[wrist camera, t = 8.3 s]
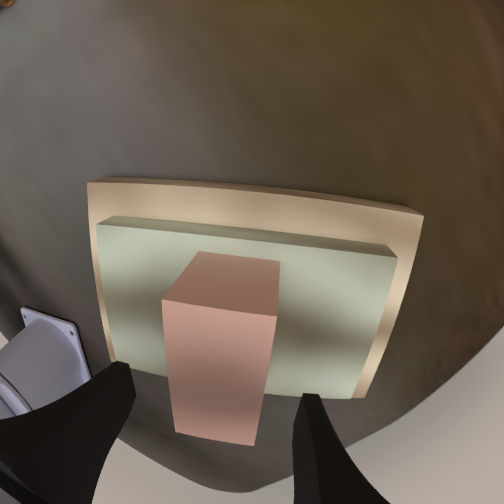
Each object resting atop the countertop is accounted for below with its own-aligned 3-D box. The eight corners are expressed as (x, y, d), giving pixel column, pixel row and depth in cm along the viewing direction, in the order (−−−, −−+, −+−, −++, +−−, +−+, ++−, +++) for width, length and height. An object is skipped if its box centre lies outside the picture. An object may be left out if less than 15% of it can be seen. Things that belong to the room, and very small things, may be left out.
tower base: (358, 376, 22) (368, 416, 18) (123, 343, 23) (99, 376, 19) (407, 206, 17) (439, 225, 13) (107, 177, 18) (67, 187, 14)
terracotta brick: (262, 380, 17) (253, 445, 13) (198, 370, 18) (175, 431, 13) (280, 260, 14) (276, 316, 10) (198, 250, 15) (161, 299, 10)
